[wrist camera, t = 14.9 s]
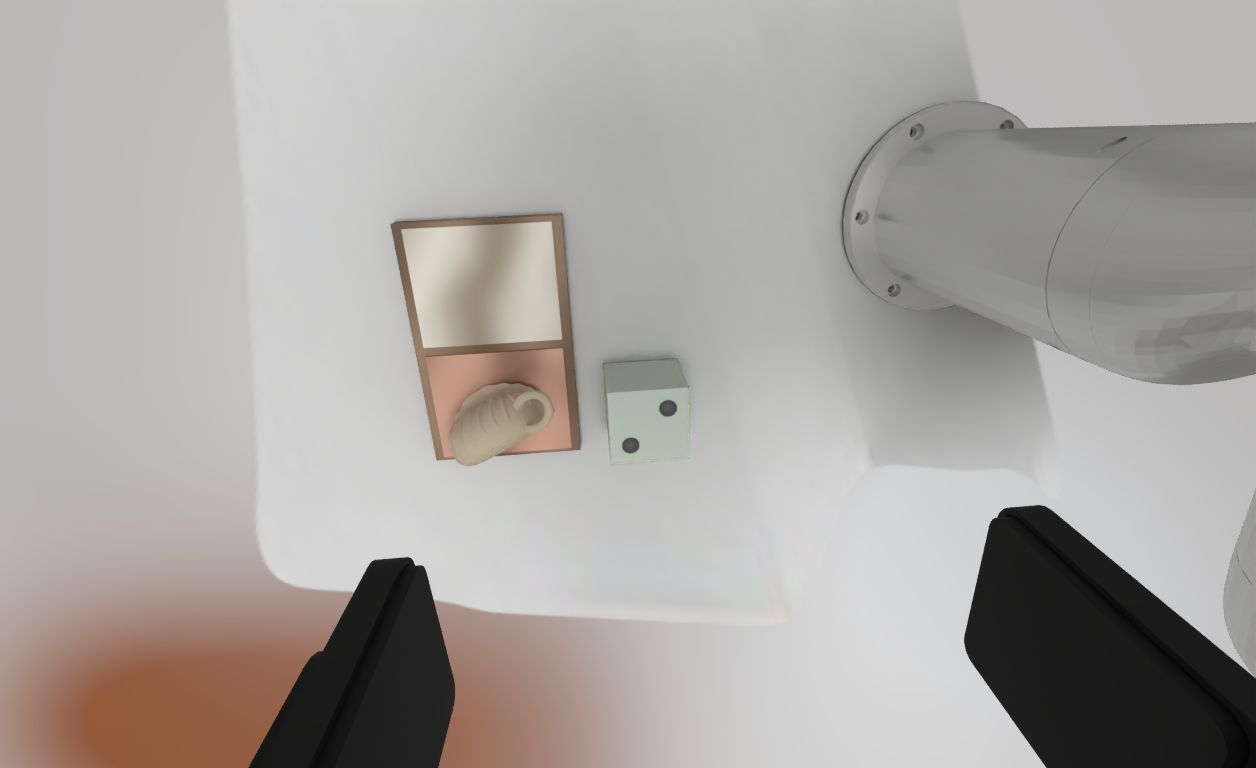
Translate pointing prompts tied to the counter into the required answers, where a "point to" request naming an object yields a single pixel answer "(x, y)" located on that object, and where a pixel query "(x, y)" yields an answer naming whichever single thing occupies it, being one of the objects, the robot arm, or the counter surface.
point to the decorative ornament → (497, 421)
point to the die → (646, 411)
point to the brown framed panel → (490, 317)
